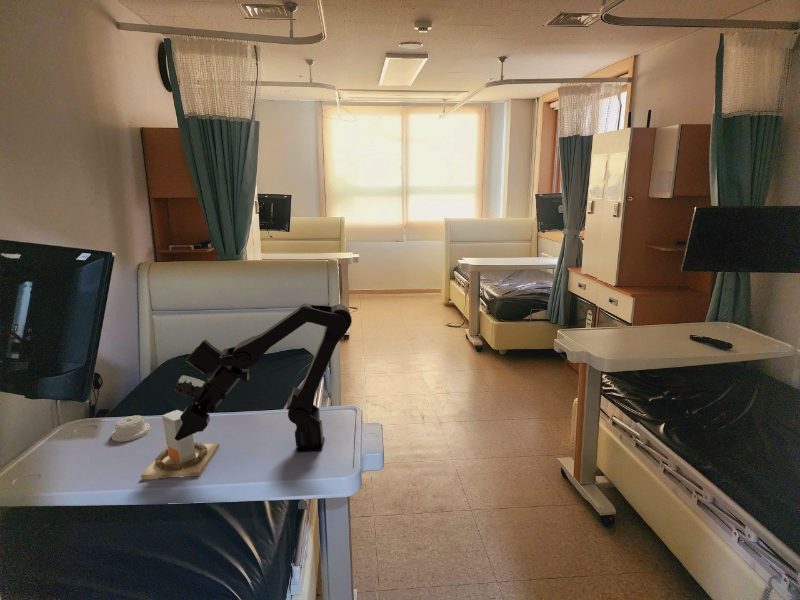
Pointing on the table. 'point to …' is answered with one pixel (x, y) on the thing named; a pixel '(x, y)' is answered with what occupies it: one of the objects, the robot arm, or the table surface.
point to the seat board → (171, 468)
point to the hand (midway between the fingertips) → (181, 431)
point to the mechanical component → (130, 428)
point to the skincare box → (176, 449)
